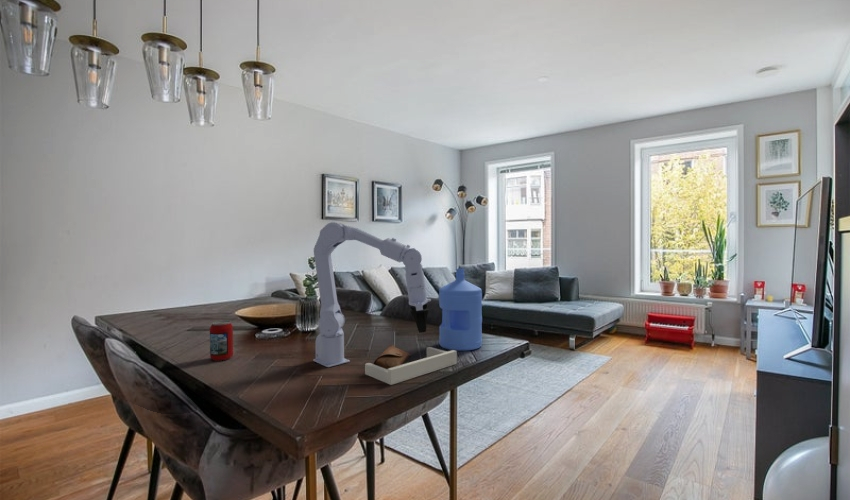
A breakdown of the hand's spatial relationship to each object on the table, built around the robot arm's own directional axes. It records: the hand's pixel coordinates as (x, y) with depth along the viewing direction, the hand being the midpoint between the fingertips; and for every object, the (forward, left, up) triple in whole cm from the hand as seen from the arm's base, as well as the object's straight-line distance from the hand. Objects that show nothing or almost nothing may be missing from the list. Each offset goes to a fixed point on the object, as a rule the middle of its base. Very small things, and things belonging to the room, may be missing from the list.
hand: (422, 329), depth 126 cm
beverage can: (-49, -44, -11) cm, 67 cm away
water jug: (-5, +24, -11) cm, 26 cm away
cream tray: (+3, -6, -10) cm, 13 cm away
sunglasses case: (-7, -6, -11) cm, 14 cm away
